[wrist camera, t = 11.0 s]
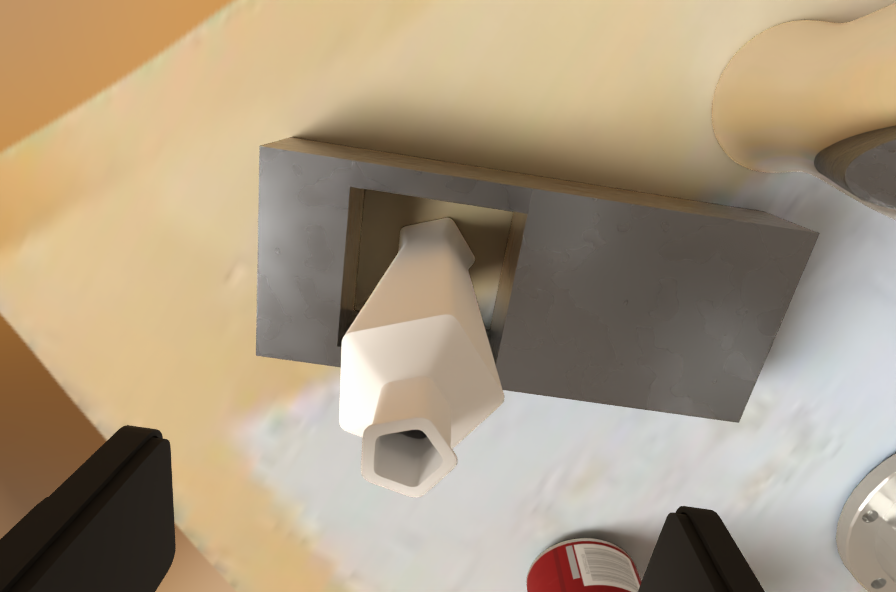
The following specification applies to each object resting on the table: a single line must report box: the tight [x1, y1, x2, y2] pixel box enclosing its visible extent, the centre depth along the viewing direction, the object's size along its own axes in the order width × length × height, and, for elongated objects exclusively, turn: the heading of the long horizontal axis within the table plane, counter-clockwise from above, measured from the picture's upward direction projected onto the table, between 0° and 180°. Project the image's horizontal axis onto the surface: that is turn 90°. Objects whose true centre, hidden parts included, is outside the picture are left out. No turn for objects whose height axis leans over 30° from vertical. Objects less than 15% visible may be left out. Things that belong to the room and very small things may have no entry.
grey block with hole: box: [256, 137, 819, 423], centre depth 24 cm, size 22×9×4 cm, turn 81°
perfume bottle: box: [339, 218, 504, 498], centre depth 18 cm, size 5×4×15 cm
